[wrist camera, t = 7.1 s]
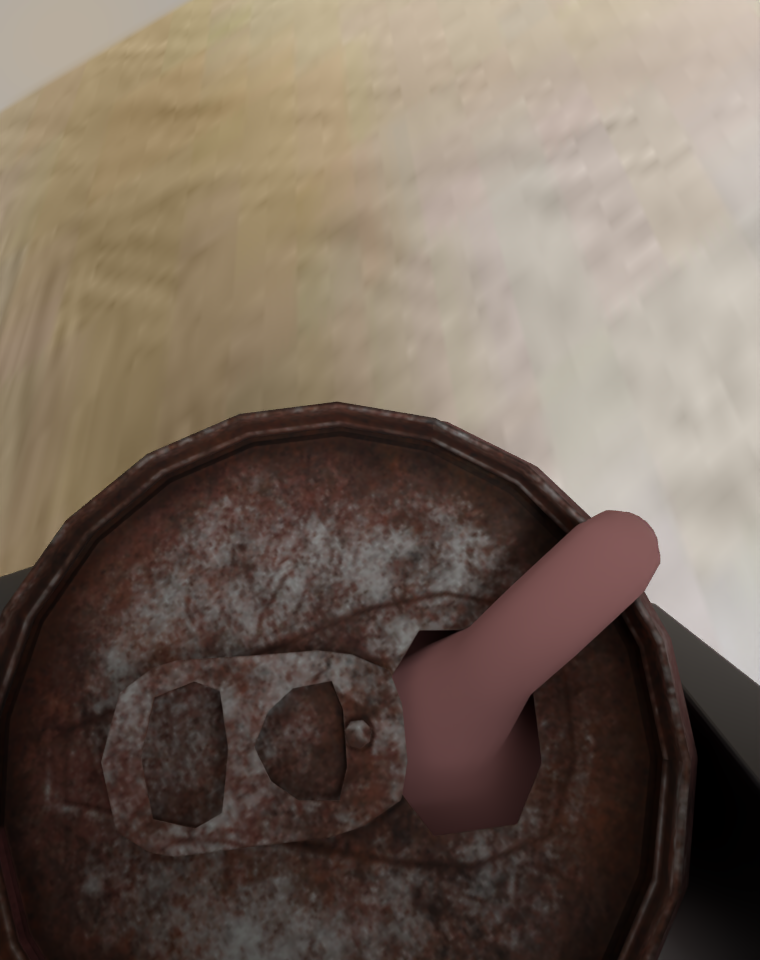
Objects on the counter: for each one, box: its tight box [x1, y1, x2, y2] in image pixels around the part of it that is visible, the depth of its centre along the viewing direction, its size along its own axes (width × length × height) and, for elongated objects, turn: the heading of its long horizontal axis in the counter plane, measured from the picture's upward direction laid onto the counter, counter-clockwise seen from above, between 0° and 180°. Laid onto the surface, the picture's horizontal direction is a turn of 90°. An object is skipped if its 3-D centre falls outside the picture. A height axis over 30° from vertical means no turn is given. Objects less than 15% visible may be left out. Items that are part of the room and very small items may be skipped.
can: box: [0, 402, 698, 960], centre depth 12 cm, size 6×6×14 cm
